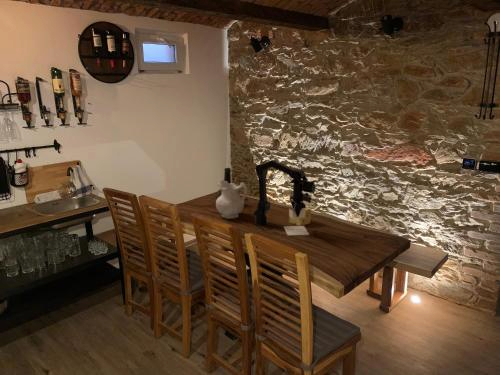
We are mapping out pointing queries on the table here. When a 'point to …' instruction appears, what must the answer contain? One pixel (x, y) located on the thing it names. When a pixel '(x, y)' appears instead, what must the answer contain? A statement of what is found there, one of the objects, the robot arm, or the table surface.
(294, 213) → the card box
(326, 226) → the table surface
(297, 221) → the cheese
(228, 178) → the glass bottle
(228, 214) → the ceramic pitcher
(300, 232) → the grey mat
